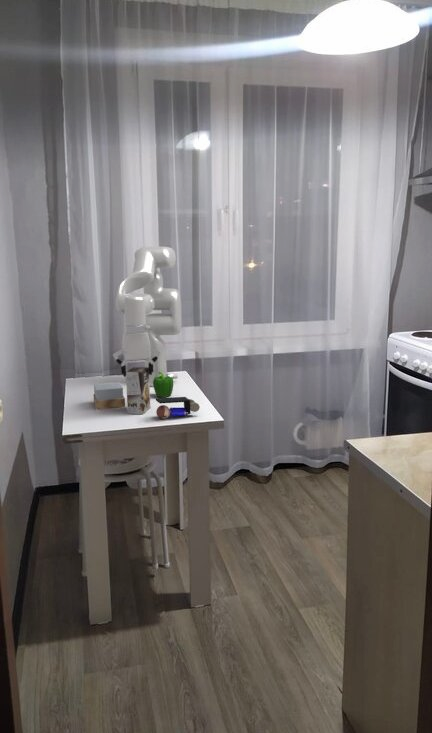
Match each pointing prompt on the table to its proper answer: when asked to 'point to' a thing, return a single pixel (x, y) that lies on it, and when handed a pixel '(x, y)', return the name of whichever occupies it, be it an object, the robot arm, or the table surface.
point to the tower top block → (108, 391)
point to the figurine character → (165, 411)
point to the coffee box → (138, 390)
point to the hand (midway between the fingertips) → (137, 375)
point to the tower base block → (109, 403)
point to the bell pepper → (163, 385)
